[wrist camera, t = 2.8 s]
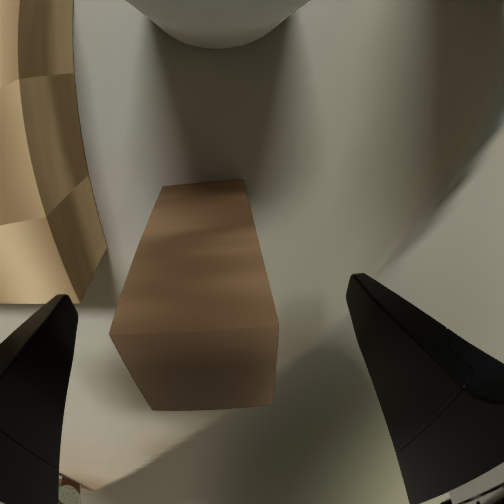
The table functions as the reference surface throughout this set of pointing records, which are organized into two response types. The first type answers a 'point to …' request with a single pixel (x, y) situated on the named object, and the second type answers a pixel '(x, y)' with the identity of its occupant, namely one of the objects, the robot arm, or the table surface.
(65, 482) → the food container
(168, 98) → the table surface
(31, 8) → the socket block
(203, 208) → the square peg
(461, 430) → the robot arm
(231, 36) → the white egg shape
